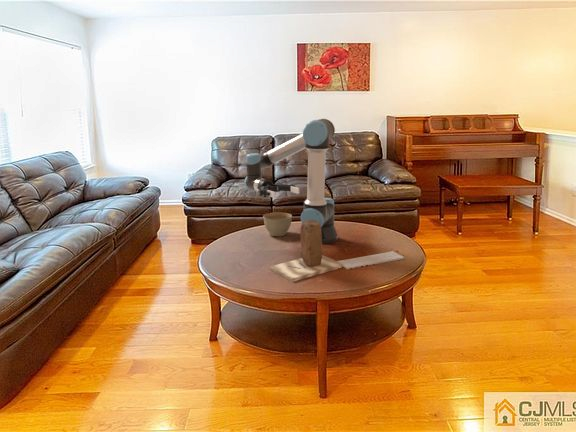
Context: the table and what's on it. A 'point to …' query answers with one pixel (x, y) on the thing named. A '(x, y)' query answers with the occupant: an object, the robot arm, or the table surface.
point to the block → (311, 242)
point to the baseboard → (370, 260)
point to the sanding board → (304, 268)
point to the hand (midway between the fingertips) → (286, 193)
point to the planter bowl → (277, 223)
